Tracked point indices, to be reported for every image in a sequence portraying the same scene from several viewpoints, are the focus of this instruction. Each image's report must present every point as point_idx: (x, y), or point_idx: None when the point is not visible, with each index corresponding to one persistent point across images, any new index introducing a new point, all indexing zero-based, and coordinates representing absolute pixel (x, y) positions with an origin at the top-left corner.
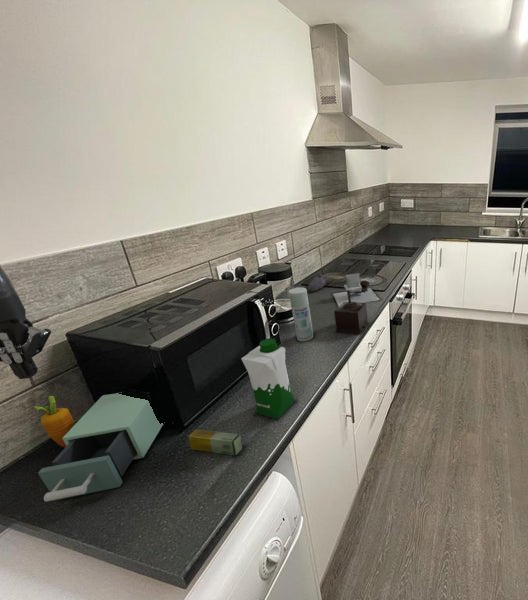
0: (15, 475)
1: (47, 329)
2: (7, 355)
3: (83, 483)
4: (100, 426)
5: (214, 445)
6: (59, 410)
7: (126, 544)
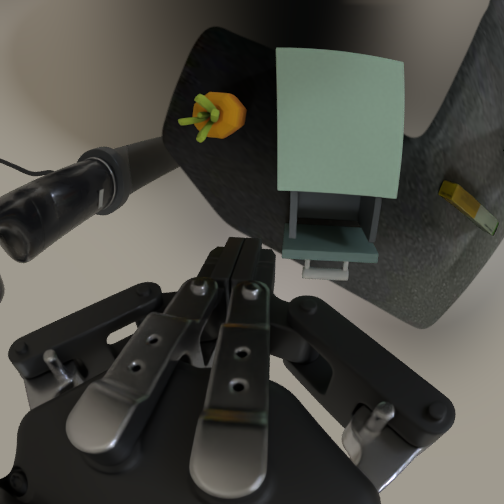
0: (182, 155)
1: (445, 431)
2: (210, 364)
3: (343, 267)
4: (340, 176)
5: (471, 218)
6: (223, 110)
7: (385, 303)
